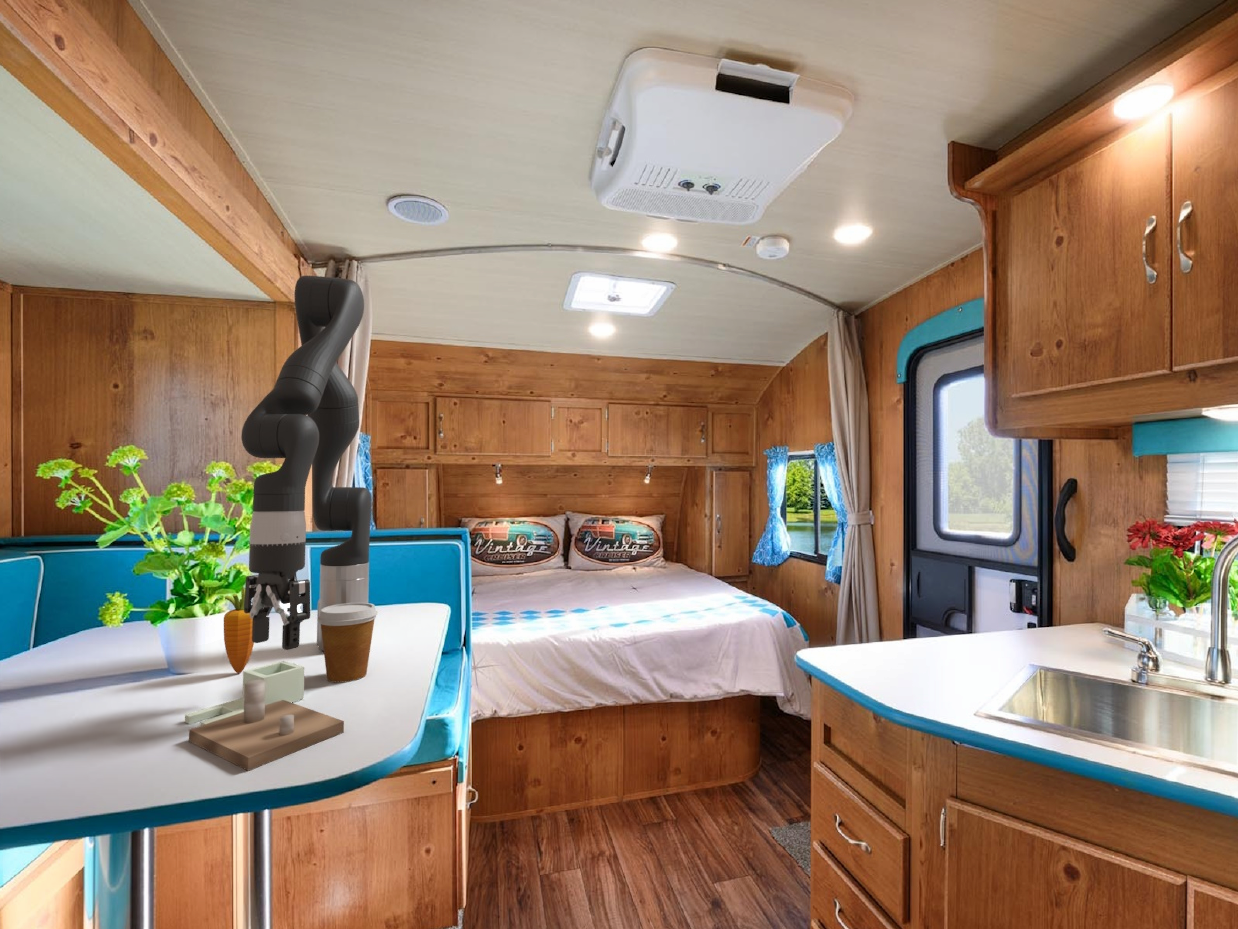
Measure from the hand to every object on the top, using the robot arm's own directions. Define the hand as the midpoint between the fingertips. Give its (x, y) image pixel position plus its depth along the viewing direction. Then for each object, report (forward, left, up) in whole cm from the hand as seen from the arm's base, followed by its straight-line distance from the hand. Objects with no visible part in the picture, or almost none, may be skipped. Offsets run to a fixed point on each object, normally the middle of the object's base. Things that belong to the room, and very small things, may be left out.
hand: (275, 645), depth 87 cm
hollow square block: (0, -4, -9) cm, 10 cm away
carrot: (-19, +4, -9) cm, 22 cm away
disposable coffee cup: (-1, +13, -9) cm, 16 cm away
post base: (+12, -7, -9) cm, 16 cm away
